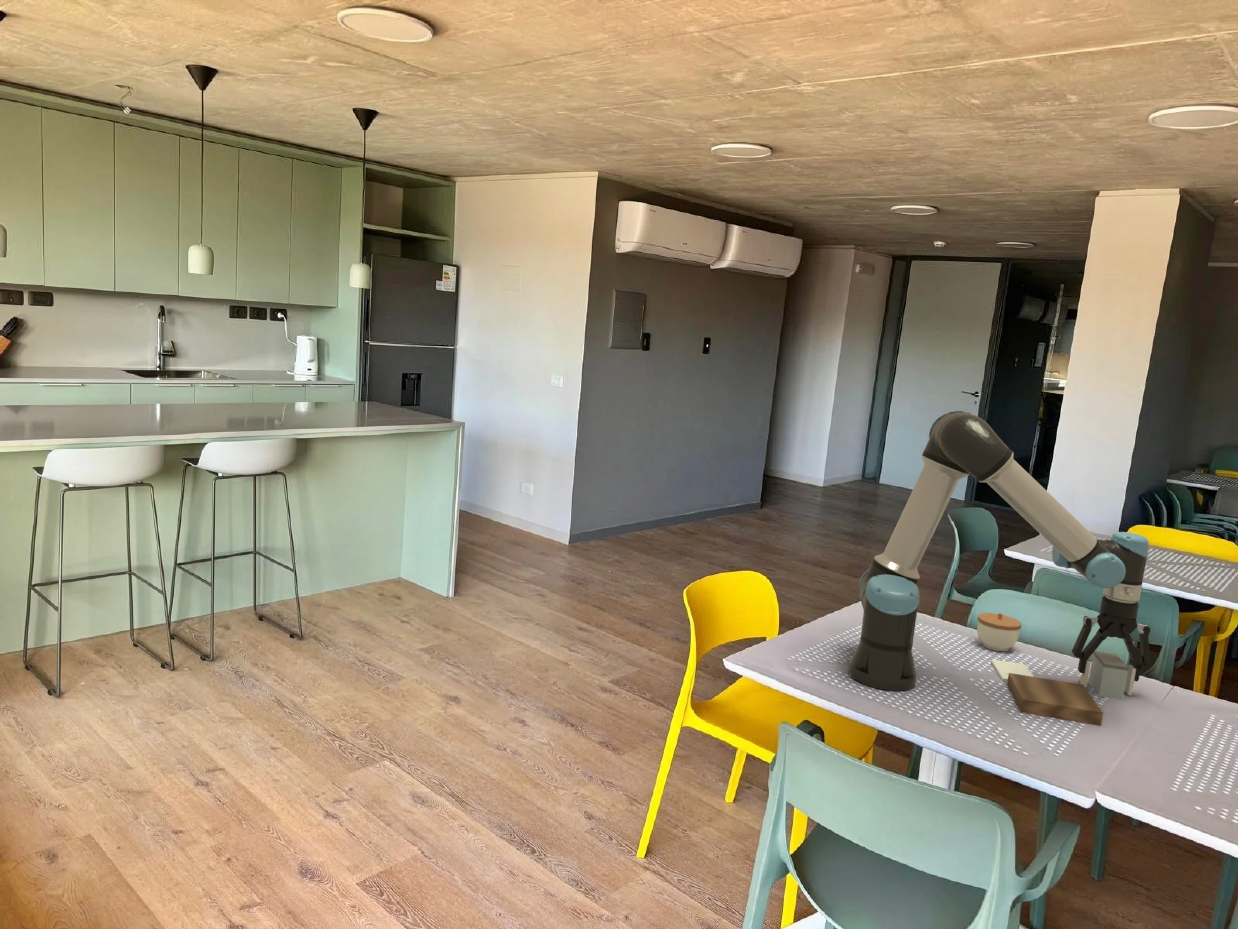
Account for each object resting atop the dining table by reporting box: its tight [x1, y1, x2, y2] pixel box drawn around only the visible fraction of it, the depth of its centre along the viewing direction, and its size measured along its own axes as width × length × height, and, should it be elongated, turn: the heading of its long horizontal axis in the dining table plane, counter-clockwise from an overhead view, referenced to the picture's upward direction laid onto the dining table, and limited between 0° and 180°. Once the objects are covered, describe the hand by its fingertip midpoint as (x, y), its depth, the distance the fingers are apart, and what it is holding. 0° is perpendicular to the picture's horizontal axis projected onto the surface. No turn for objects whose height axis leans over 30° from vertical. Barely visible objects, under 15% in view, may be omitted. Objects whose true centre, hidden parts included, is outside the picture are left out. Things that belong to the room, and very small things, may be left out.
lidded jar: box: [976, 612, 1022, 652], centre depth 228 cm, size 11×11×9 cm
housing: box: [1087, 650, 1129, 701], centre depth 203 cm, size 5×9×8 cm, turn 165°
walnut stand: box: [1006, 673, 1104, 726], centre depth 192 cm, size 16×16×3 cm
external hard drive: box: [990, 659, 1035, 684], centre depth 209 cm, size 2×8×12 cm
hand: (1105, 689), depth 203 cm, fingers open, 9 cm apart
